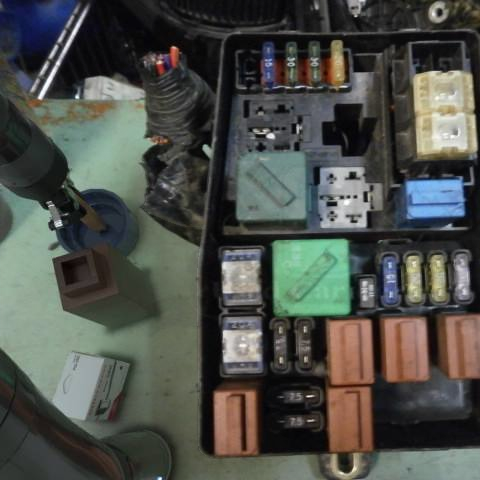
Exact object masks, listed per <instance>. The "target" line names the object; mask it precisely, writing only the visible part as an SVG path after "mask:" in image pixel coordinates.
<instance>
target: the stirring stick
mask: <svg viewBox="0 0 480 480" xmlns="http://www.w3.org/2000/svg"><path fill="white" fill-rule="evenodd" d="M68 188H69V189H70V190H71V191H72V192H73V193H74V197H75V200H76V201H78V202H79V203H80V204H81V205H82V206H83V207H84V208H85V209H86V210H87V215H85V217H83V218H80V220H81V221H82V222H84V223H85V224H86V225H87V226H88V227H90V228H91V229H92V230H93V231H94V232H96V233H97V232H100V231H104V230H107V228H106V224H105V220H104V219H103V218H102V217H101V216H100V215H99V214H98V213H97V212H96V211H95V210H94V209H92V208H91V207H90V206H89V205H88V204H87V203H86V202H85V201H84V200H83V199H82V198H81V197H80V196H79V195H77V194H76V193H75V192H74V191H73V190H72V189H71V188H70V187H68Z"/></svg>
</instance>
